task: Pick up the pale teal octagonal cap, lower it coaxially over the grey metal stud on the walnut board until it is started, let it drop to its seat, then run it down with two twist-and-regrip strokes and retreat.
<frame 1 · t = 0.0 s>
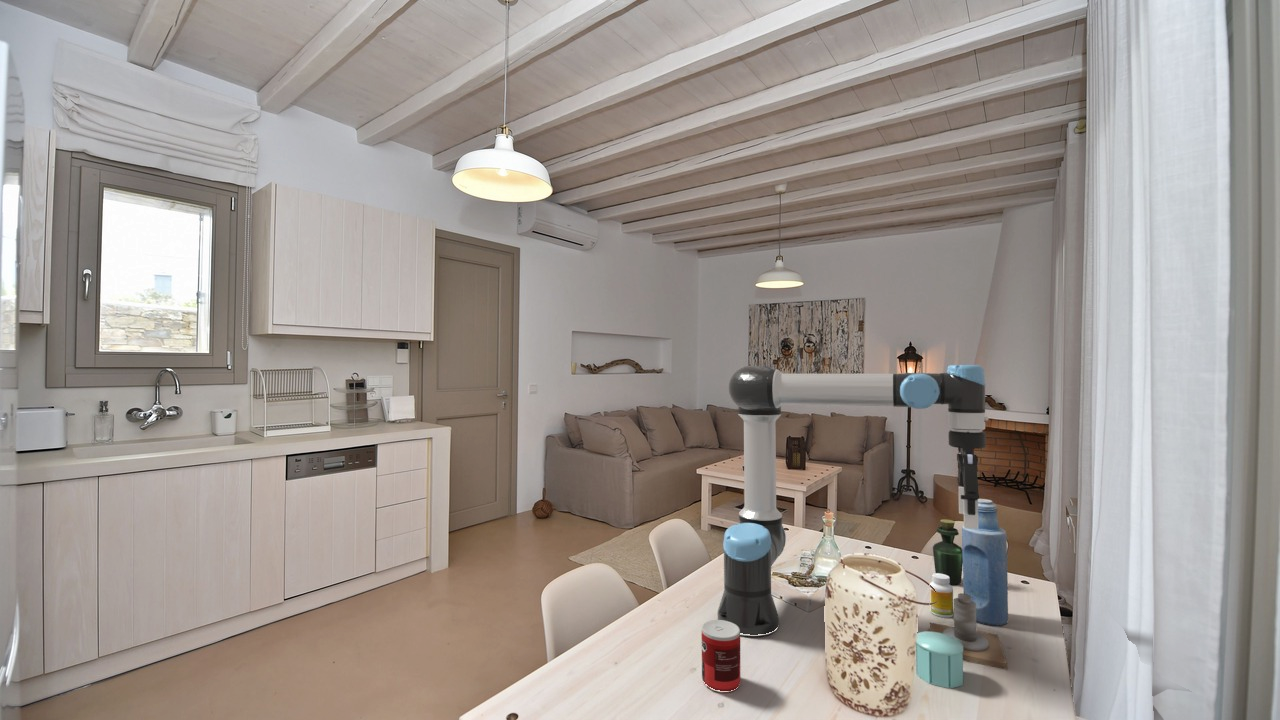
hand: (968, 521, 128), 28 cm above the table, tool pointing down, fingers open, 13 cm apart
canned food: (721, 683, 111), on the table
bottle: (985, 618, 139), on the table
potion bottle: (948, 582, 163), on the table
cap: (939, 675, 113), on the table
supplement bottle: (941, 614, 142), on the table
stud post: (965, 646, 125), on the table
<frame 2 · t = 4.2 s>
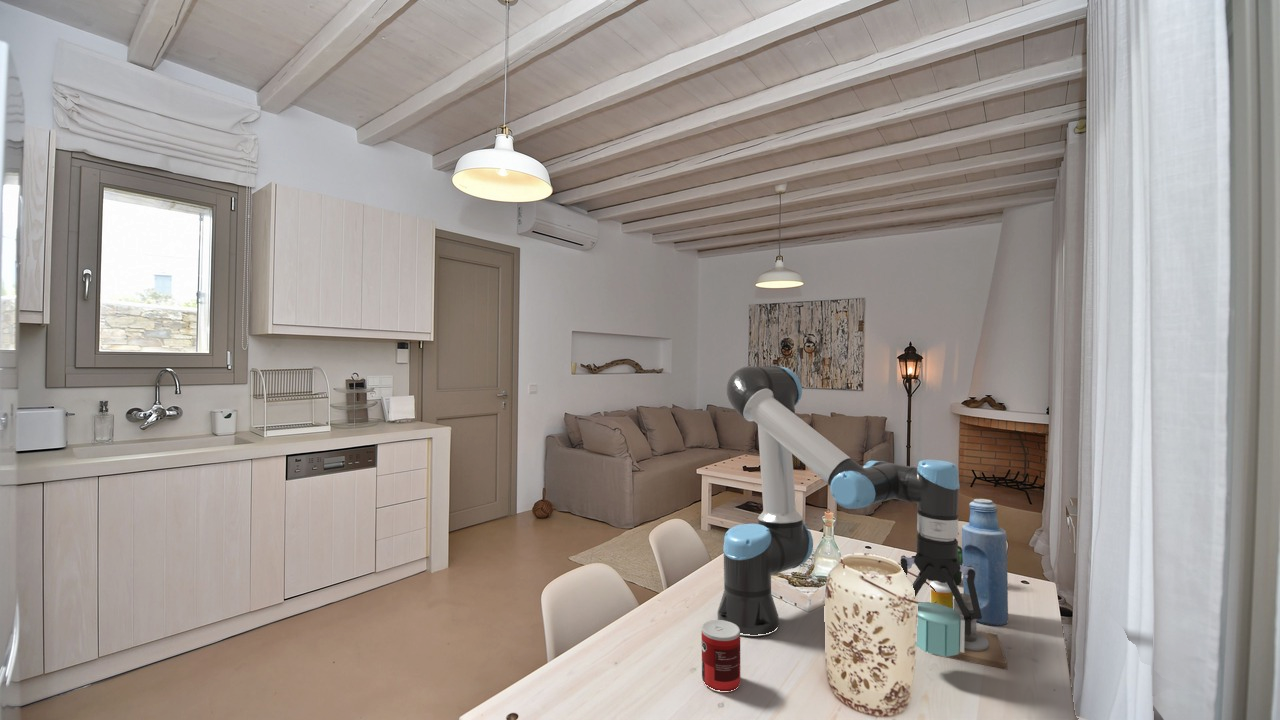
hand: (935, 643, 114), 6 cm above the table, tool pointing down, fingers closed on cap, 9 cm apart
cap: (935, 644, 114), point 6 cm above the table, touching gripper
everything else where it was.
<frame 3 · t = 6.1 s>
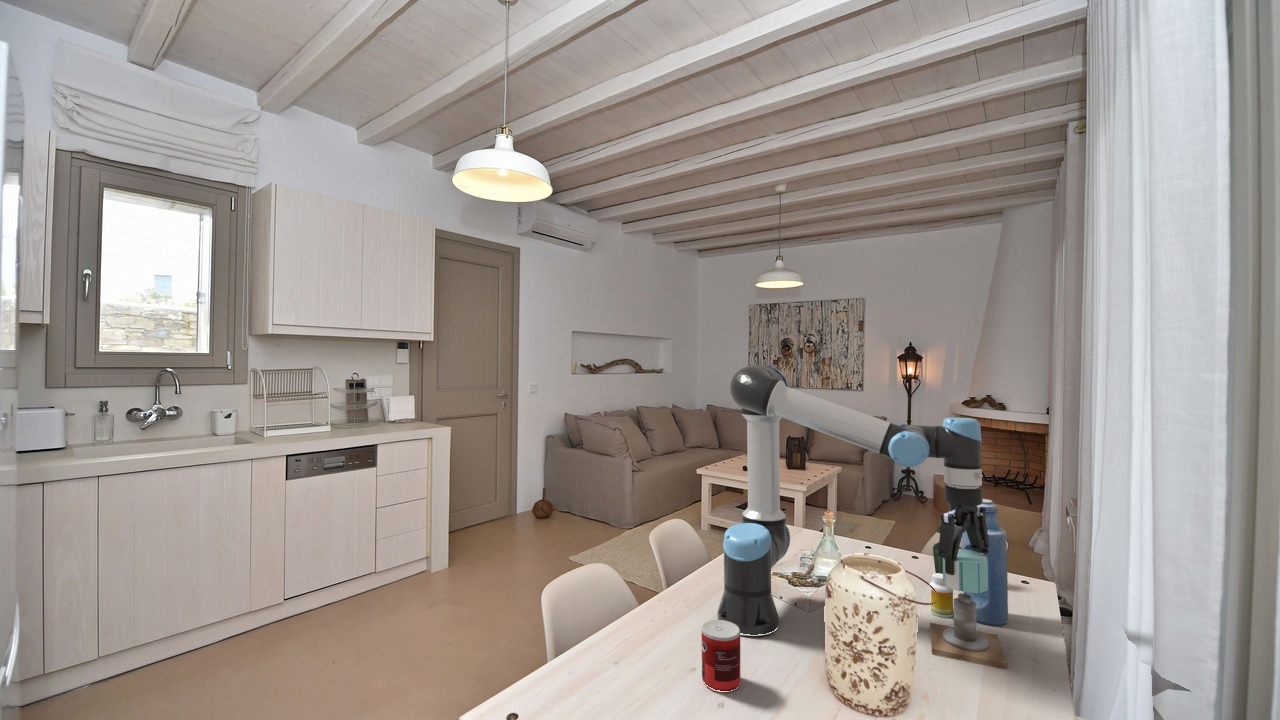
hand: (964, 584, 125), 14 cm above the table, tool pointing down, fingers closed on cap, 9 cm apart
cap: (965, 585, 125), point 14 cm above the table, touching gripper
everything else where it was.
when the fingers open (6 cm above the table, at t = 7.9 s): cap stays where it is, resting on stud post.
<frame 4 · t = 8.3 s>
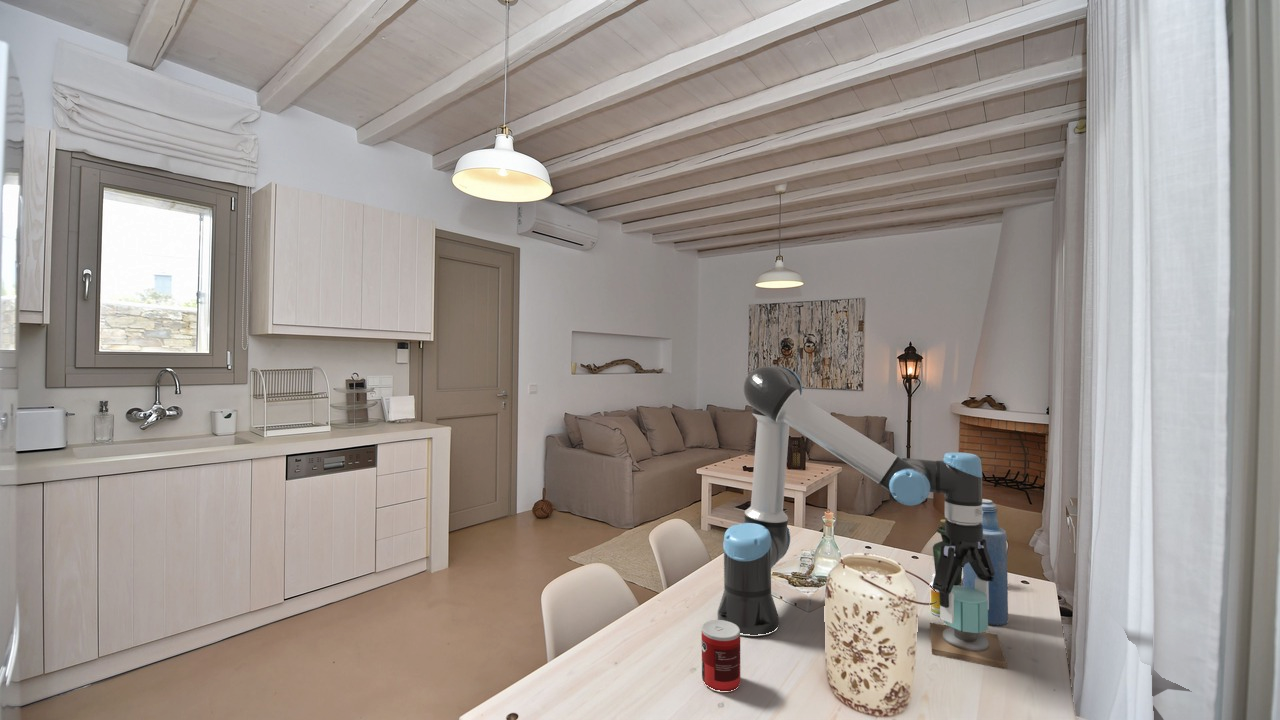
hand: (964, 614, 125), 7 cm above the table, tool pointing down, fingers open, 13 cm apart
cap: (964, 623, 125), point 5 cm above the table, touching stud post
everything else where it was.
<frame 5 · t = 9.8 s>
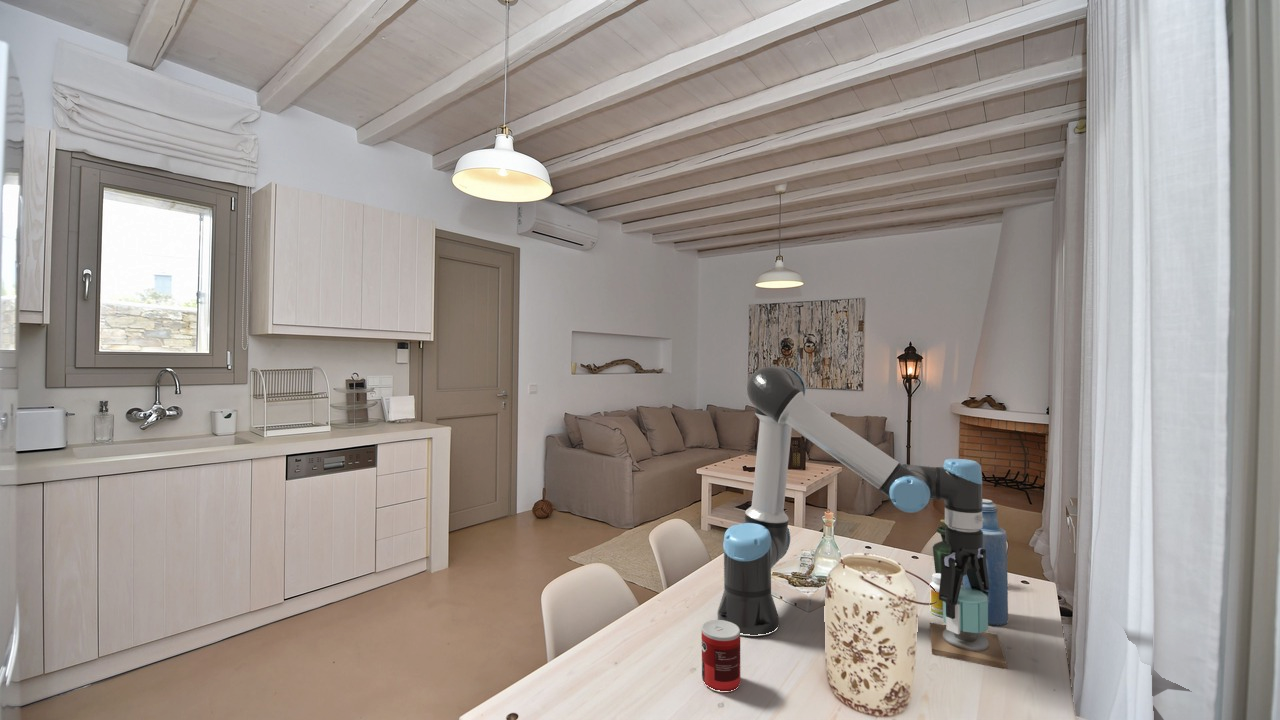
hand: (965, 626, 125), 5 cm above the table, tool pointing down, fingers closed on cap, 8 cm apart
cap: (965, 623, 125), point 5 cm above the table, touching gripper, stud post
everything else where it was.
when the fingers open (5 cm above the table, at t = 11.0 s): cap stays where it is, resting on stud post.
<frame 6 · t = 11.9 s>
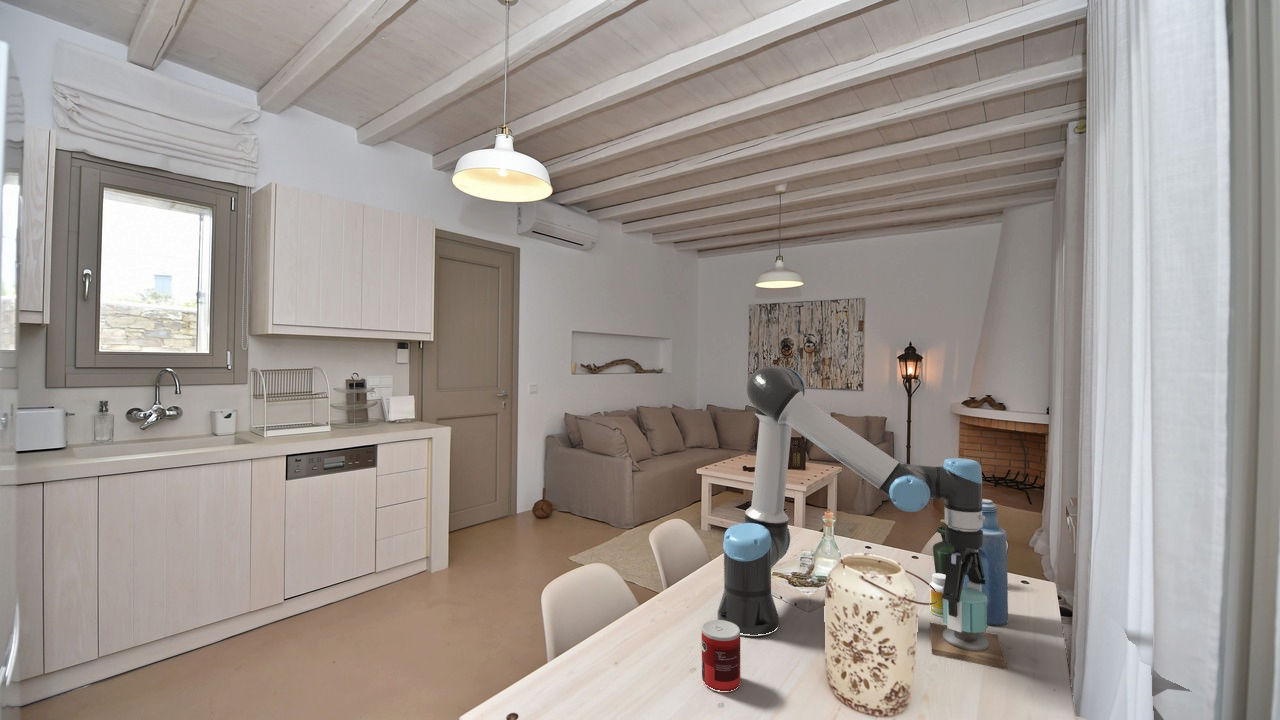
hand: (965, 620, 125), 6 cm above the table, tool pointing down, fingers open, 13 cm apart
cap: (964, 623, 125), point 5 cm above the table, touching stud post
everything else where it was.
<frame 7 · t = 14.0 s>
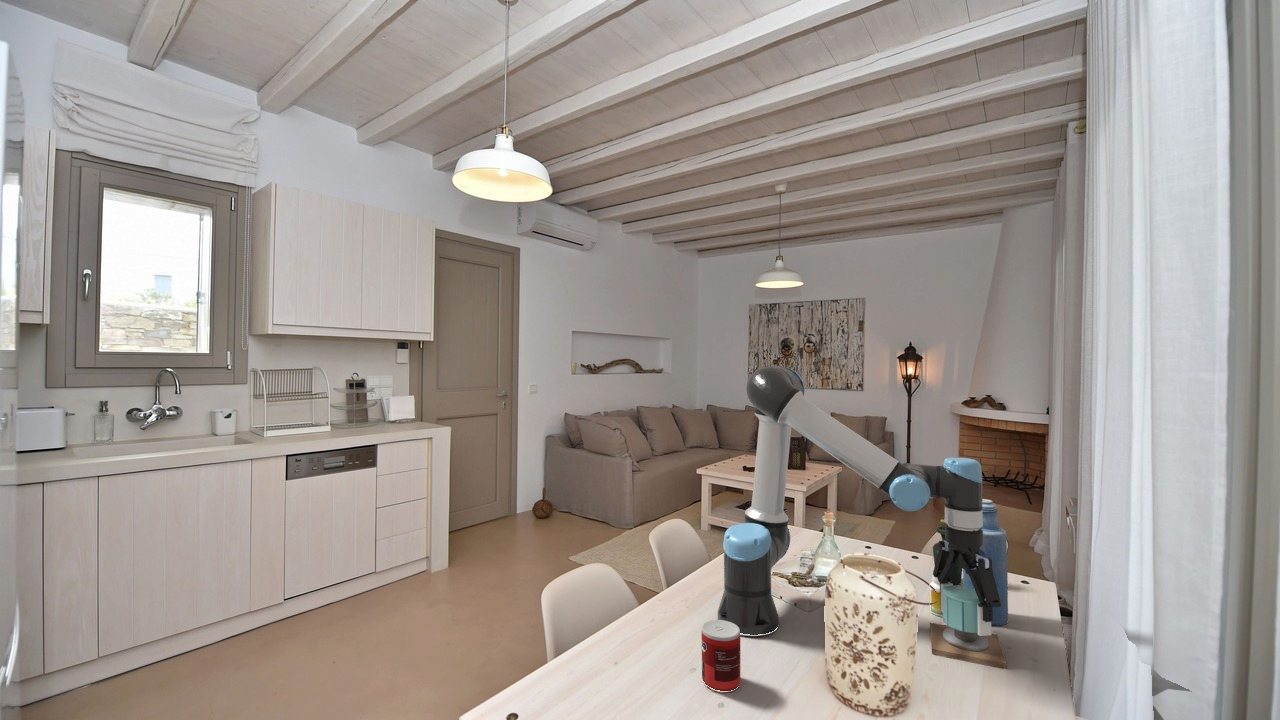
hand: (965, 622, 125), 5 cm above the table, tool pointing down, fingers open, 11 cm apart
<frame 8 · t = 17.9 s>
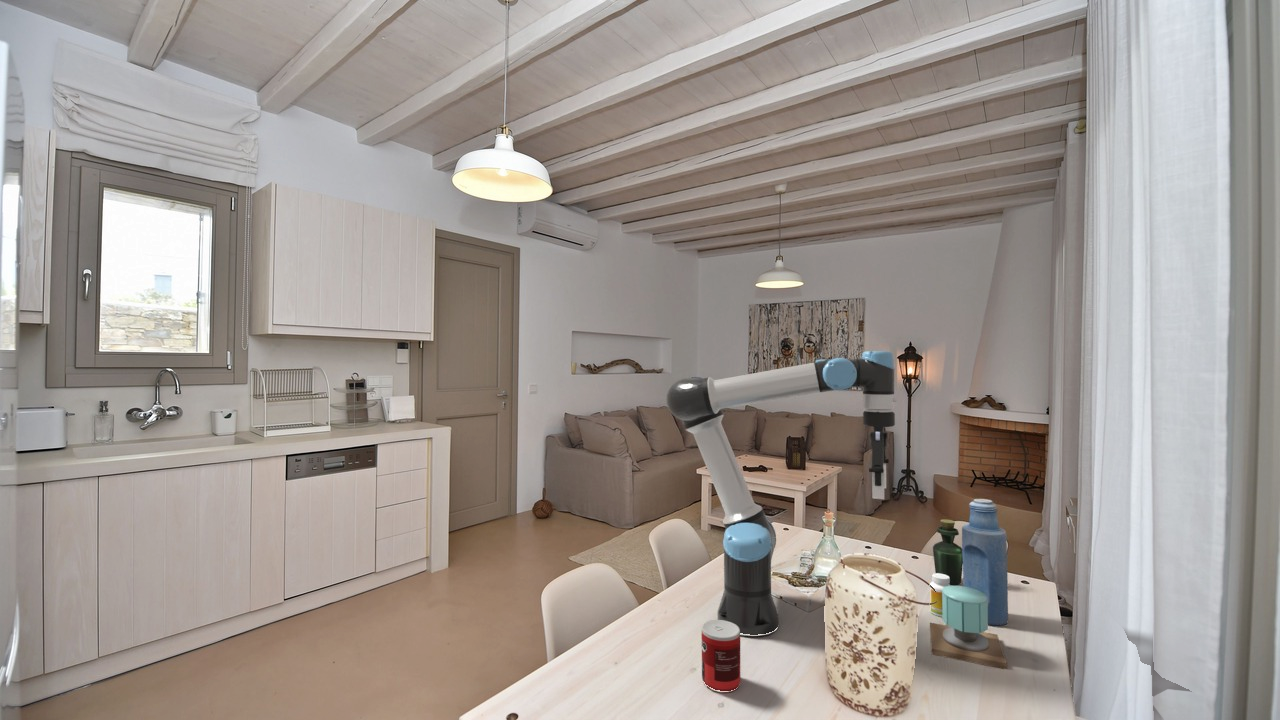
hand: (879, 493, 140), 32 cm above the table, tool pointing down, fingers open, 13 cm apart
nothing on the table moved.
at the end: cap 0.1 cm off-centre on the stud post, point 5.2 cm above the stud post's base; cap tilted 0°; the gripper is holding nothing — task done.
